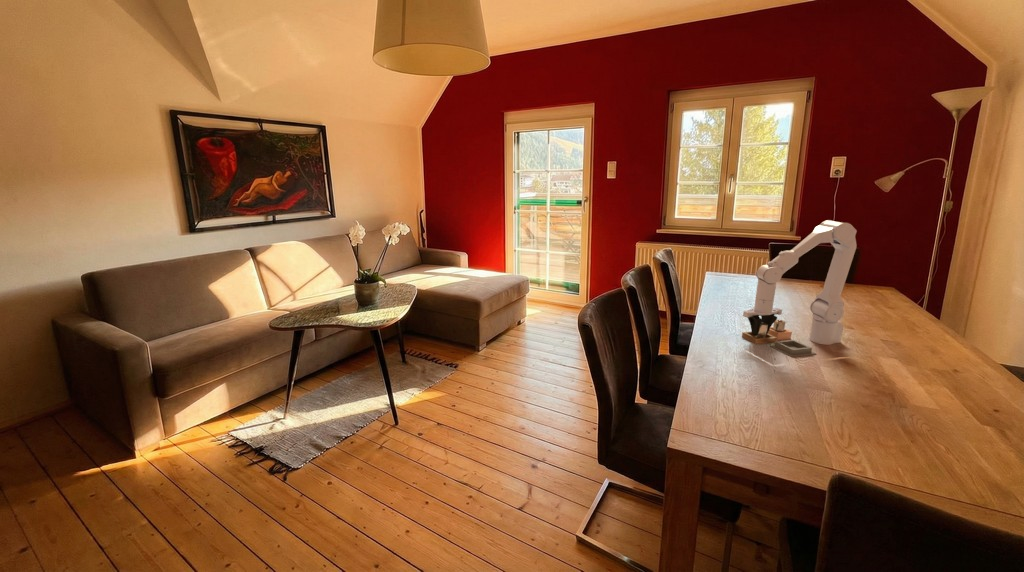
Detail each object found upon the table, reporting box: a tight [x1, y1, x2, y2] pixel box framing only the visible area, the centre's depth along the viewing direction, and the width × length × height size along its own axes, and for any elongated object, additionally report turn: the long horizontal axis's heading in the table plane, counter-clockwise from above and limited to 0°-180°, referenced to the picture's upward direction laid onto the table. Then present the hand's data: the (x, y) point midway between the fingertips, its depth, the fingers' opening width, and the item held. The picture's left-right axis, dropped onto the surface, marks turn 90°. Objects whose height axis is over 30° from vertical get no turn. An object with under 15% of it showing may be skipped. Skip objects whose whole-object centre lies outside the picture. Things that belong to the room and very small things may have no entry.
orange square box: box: [768, 326, 793, 341], centre depth 162 cm, size 6×6×3 cm
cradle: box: [769, 339, 817, 358], centre depth 150 cm, size 10×10×3 cm
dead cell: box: [772, 319, 786, 332], centre depth 161 cm, size 4×4×6 cm
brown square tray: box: [741, 330, 778, 345], centre depth 159 cm, size 8×8×2 cm
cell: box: [754, 322, 768, 339], centre depth 158 cm, size 4×4×6 cm
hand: (759, 334), depth 159 cm, fingers closed on cell, 3 cm apart
